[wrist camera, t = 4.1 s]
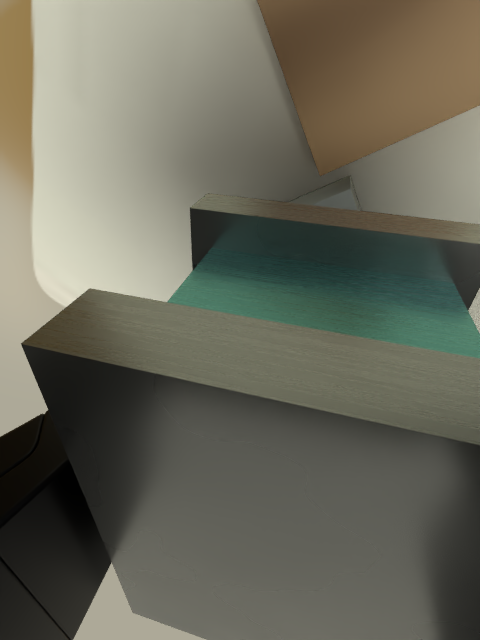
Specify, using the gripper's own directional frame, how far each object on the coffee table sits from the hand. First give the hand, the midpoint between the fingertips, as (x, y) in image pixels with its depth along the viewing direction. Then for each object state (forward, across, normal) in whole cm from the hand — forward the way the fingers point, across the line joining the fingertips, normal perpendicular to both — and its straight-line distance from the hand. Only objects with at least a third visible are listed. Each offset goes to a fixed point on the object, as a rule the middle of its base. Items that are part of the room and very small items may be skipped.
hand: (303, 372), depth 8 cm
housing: (+1, 0, 0) cm, 1 cm away
